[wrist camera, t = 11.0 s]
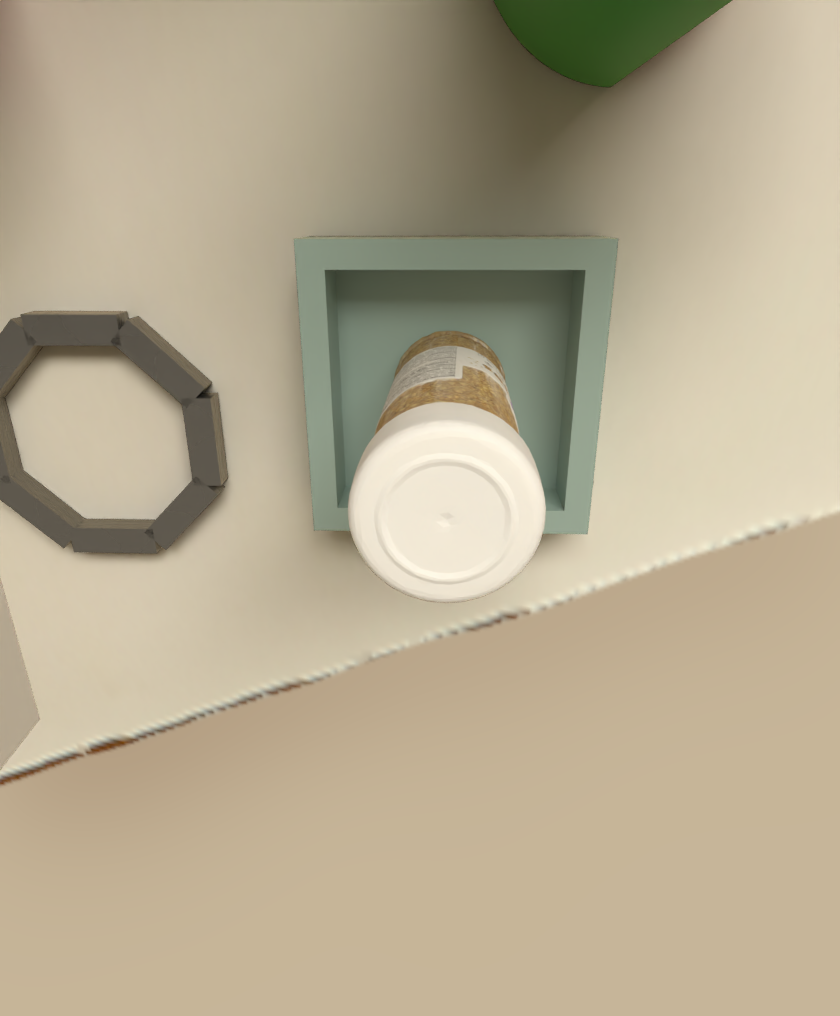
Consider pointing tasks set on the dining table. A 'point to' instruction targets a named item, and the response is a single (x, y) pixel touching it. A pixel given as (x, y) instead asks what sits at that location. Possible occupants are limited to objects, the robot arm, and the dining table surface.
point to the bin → (466, 308)
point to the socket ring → (26, 335)
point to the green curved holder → (601, 32)
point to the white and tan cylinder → (447, 477)
